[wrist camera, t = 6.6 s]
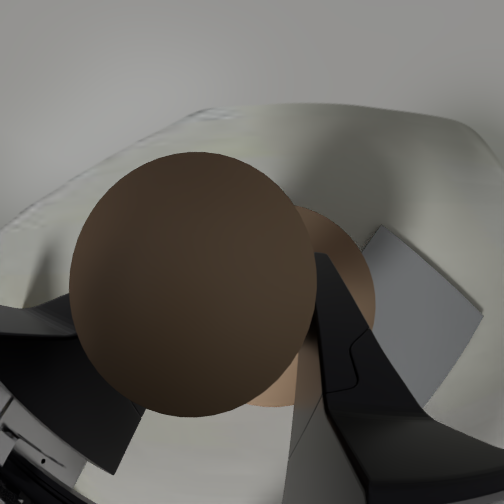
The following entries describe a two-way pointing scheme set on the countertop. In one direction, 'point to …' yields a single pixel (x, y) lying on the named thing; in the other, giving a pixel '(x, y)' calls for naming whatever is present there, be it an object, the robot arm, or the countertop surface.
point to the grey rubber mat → (417, 315)
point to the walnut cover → (203, 285)
